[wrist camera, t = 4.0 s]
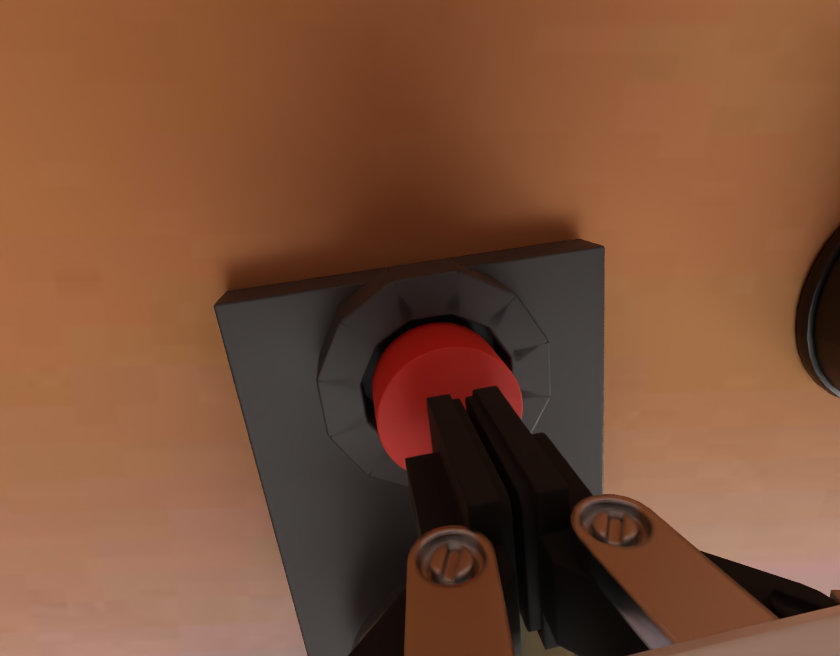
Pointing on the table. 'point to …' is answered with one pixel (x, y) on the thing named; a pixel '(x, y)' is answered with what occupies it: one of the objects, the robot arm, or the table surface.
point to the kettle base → (355, 415)
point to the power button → (432, 382)
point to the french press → (822, 319)
